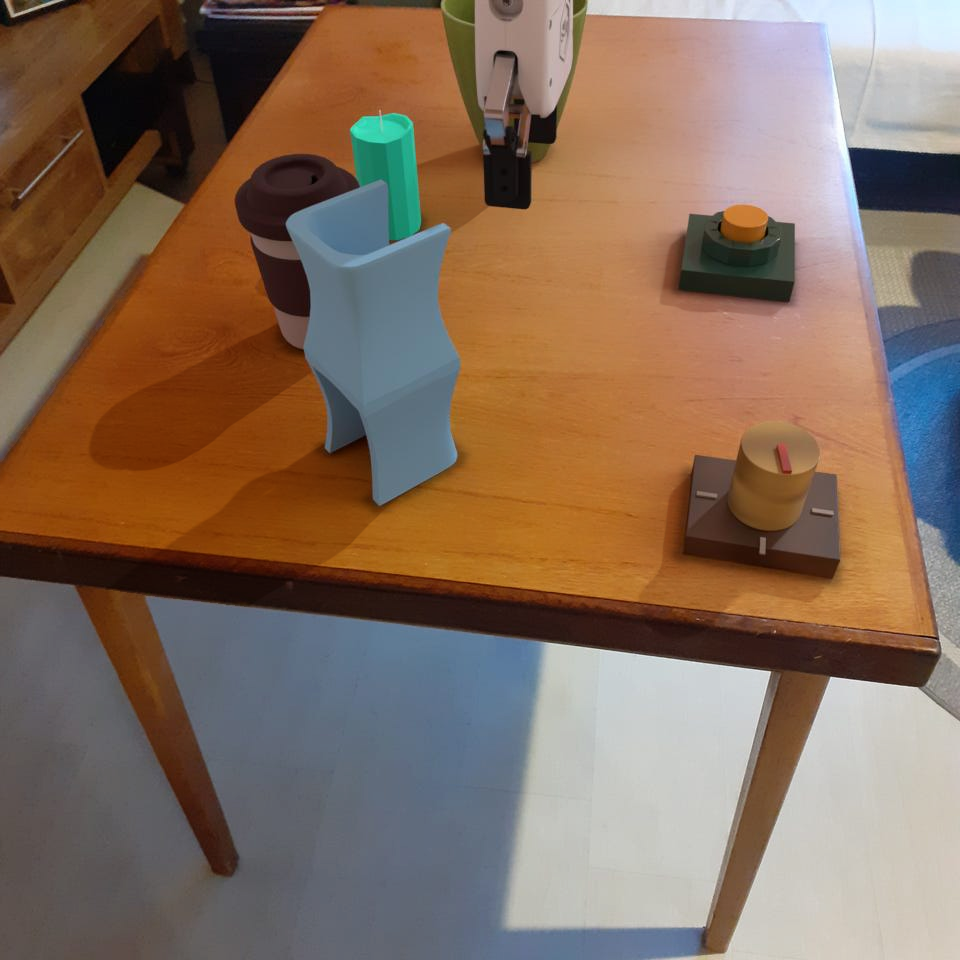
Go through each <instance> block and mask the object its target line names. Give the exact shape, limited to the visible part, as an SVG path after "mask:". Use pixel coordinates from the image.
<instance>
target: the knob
mask: <svg viewBox="0 0 960 960" xmlns="http://www.w3.org/2000/svg"><path fill="white" fill-rule="evenodd" d="M820 458H821V448H820V446H819V444H818V442H817V440H816V439H815V438H814V437H813V435H812V434H810V433H809V432H808V431H807V430H805V429H804V428H802V427H800V426H797V425H795V424H792V423H789V422H786V421H779V420H777V421H776V420H772V421H771V420H768V421H762V422H758V423H755V424H754V425H751V426H750V427H748V428H747V429H746V430H745V432H744V433H743V434H742V437H741V439H740V443H739V447H738V452H737V455H736V459H735V460H736V463H735V467H734V471H733V476H732V480H731V484H730V488H729V492H728V497H727V502H728V506H729V508H730V510H731V512H732V513H733V515H734V516H735V517H736V518H737V519H738V520H740V521H741V522H742V523H744V524H746V525H748V526H750V527H753V528H755V529H759V530H765V531H776V530H782V529H785V528H788V527H790V526H791V525H793V524H794V523H795V522H796V521H797V520H798V519H799V517H800V515H801V512H802V509H803V506H804V503H805V500H806V497H807V494H808V491H809V488H810V485H811V482H812V479H813V476H814V473H815V472H816V469H817V467H818V464H819V462H820Z"/></svg>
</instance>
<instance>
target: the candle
mask: <svg viewBox="0 0 960 960" xmlns="http://www.w3.org/2000/svg"><path fill="white" fill-rule="evenodd" d="M378 114H379V115H377V116H376V115H375V116H372V115H371V116H370V115H369V116H368V115H367V116H362V117H360V118H359V119H358V121H356V122H355V123H354V124H353V125H352V126H351V127H350V129H349V134H350V141H351V148H352V155H353V163H354V169H355V178H356V179H357V181H358V182H359V185H360V187H363V186H365V185H368V184H370V183H373V182H376V181H378V180H383V181H384V182H385V183H387V184H388V230H389V241H396V242H397V241H401V240H403V239H405V238H408V237H410V236H413V235H415V234H417V232H419V231H420V228H421V226H422V214H421V211H422V210H421V201H420V200H421V199H420V190H419V188H420V187H419V179H418V178H419V177H418V166H417V153H416V142H415V129H414V122H413V121H412V120H411V119H410V118H409V116H408V115H405V114H401V113H397V112H392V113H387V114H383V115H382V112H381V109H379V110H378Z"/></svg>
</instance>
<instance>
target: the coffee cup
mask: <svg viewBox="0 0 960 960" xmlns="http://www.w3.org/2000/svg"><path fill="white" fill-rule="evenodd" d="M357 188H360V185H359V182H358V181H357V178H356V176H355V175H353V174H352V173H351V172H349V171H348V170H346V169H345V168H342V167H340V166H337V165H336V164H335V163H334V162H333V161H331V160H330V159H329V158H326V157H324V156H321V155H317V154H312V153H292V154H291V153H290V154H285V155H281V156H277V157H273V158H271V159H269V160H266V161H264V162H263V163H261V164H260V165H259V166H257V167H256V168H255V169H254V171H253V172H252V173H251V175H250V178H248V179H246V180H245V181H244V182H243V183H242V184H241V185H240V186H239V188H238V189H237V191H236V193H235V194H234V195H235V196H234V206H235V210H236V211H235V212H236V214H237V218H238V221H239V224H240V225H241V226H242V228H244V230H246V231H247V232H249V233H250V246H251V248H252V251H253V254H254V258H255V261H256V264H257V267H258V270H259V274H260V278H261V280H262V282H263V286H264V289H265V293H266V296H267V298H268V300H269V302H270V304H271V305H272V306H273V310H274V313H275V317H276V319H277V322H278V325H279V328H280V332H281V334H282V336H283V338H284V339H285V341H286V342H287V343H289V344H290V345H291V346H293V347H294V348H297V349H300V350H303V351H304V348H303V347H304V342H305V338H306V334H307V330H308V325H309V320H310V309H311V298H310V287H309V283H308V279H307V275H306V273H305V270H304V267H303V264H302V261H301V259H300V257H299V254H298V252H297V250H296V247H295V245H294V243H293V241H292V239H291V237H290V234H289V232H288V230H287V227H286V222H287V220H288V218H289V217H290V216H291V215H292V214H294V213H296V212H298V211H301V210H303V209H305V208H308V207H310V206H313V205H316V204H318V203H321V202H323V201H326V200H329V199H331V198H334V197H337V196H339V195H342V194H344V193H347V192H350V191H352V190H355V189H357Z"/></svg>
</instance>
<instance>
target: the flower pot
mask: <svg viewBox="0 0 960 960" xmlns="http://www.w3.org/2000/svg"><path fill="white" fill-rule="evenodd" d="M588 5H589V0H573V59H572V66H571V70H570V73H569V76H568V78H567V81H566V83H565V86H564V88H563V91H562V93H561V95H560V98H559V100H558V104H557V128H558V127H559V125H560V122H561V119H562V116H563V113H564V110H565V107H566V104H567V100H568V99H569V98H568V97H569V95H570V94H569V93H570V91H571V88H572V83H573V79H574V76H575V73H576V72H575V71H576V68H577V64H578V60H579V55H580V50H581V44H582V38H583V33H584V28H585V22H586V17H587V11H588ZM440 11H441V15H442V21H443V22H442V23H443V26H444V32H445V37H446V41H447V48H448V50H449V55H450V56H449V57H450V59H451V63H452V68H453V71H454V75H455V79H456V82H457V85H458V88H459V89H458V90H459V92H460V95H461V98H462V102H463V105H464V108H465V109H466V113H467V116H468V118H469V121H470V125H471V127H472V129H473V132H474V134H475V136H476V139H477V141H478V144H479V146H480V149H481V151H482V152H483V141H484V139H483V138H484V136H483V131H484V129H485V122H484V111H483V110H482V109H481V108H480V106H479V104H478V97H477V85H476V66H475V0H441V2H440ZM510 104H514V99H511V101H510ZM508 126H513V127H514V118H509V124H508ZM551 145H552V144H542V143H529V142H528V145H527V151H532V164H533V163H536V162H539V161H540V160H542V159H543V158H545V156H547V154H548V152H549V150H550V147H551Z"/></svg>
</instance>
